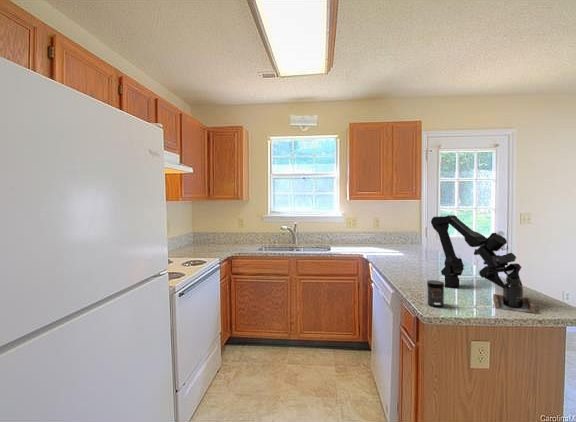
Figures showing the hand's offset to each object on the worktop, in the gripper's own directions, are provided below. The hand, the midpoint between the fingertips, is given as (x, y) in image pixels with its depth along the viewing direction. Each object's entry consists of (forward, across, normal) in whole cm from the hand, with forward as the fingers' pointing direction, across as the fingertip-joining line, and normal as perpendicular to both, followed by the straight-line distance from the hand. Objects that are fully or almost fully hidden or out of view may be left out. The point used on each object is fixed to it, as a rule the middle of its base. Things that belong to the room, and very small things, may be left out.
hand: (513, 287), depth 127 cm
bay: (+6, 0, +6) cm, 9 cm away
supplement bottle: (+6, 0, +6) cm, 8 cm away
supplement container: (-2, -30, +15) cm, 33 cm away
